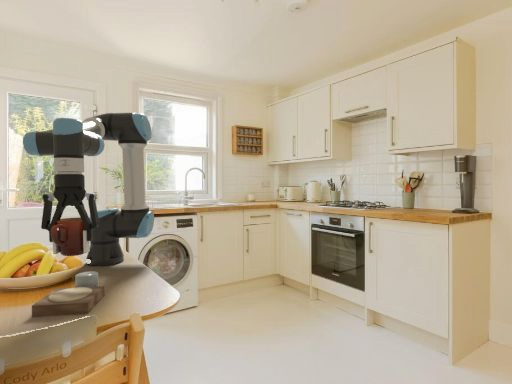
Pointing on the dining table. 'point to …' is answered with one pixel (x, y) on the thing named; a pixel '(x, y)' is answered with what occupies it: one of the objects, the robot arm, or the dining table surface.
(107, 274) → the dining table surface
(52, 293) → the base slab
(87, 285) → the grey rounded block
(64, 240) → the mug
